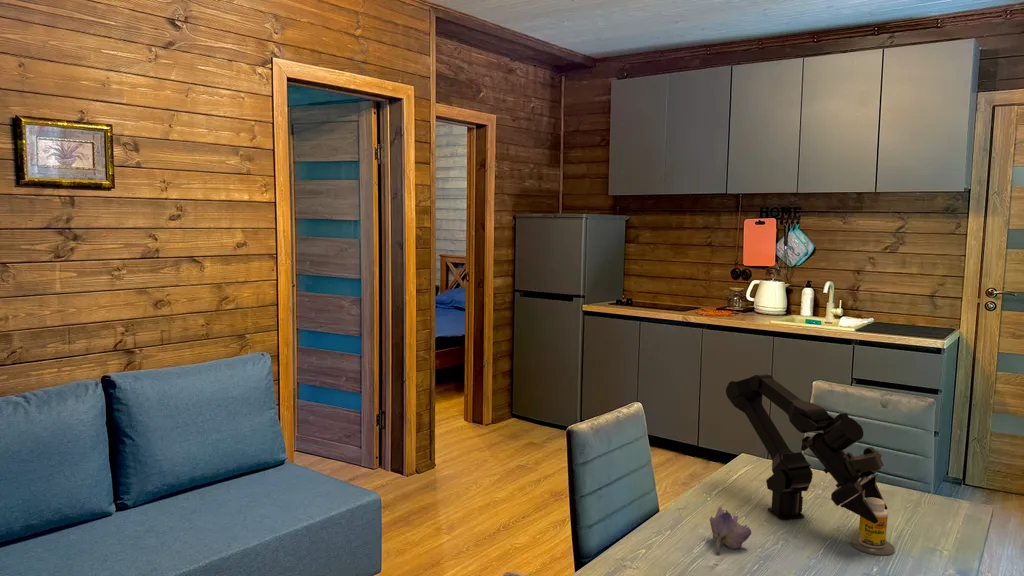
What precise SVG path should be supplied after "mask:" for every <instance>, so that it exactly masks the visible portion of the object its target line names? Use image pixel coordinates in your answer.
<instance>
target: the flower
mask: <svg viewBox="0 0 1024 576" xmlns="http://www.w3.org/2000/svg"><path fill="white" fill-rule="evenodd" d="M738 519H739V516H738V515H734V516H732V515H731V513H730V512H729V510H728V509H725V510H724V509H723V507H722V506H719V507H718V509H717V512H716V513H715V515H714V517H713V516H710V517H709V522H710V524H709V525H710V527H711V532H712V533H711V534H712V538H713V540H714V541H715V546H714V547H715V551H716V555H717V554H719V555H718V556H721V555H720V553H721V548H722V547H723V546H722V545H725V546H727V547H728V548H730V549H731V548H732V549H733V550H738V549H741V548H742V547H743V544H744V543H745V542H746V541H748V539H749V537H750V536H751V535H752V530H751V529H750V527H749V526H748V525H747V524H745V525H742V524H740V523H738ZM737 548H738V549H737ZM732 549H731V550H732Z"/></svg>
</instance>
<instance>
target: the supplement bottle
mask: <svg viewBox="0 0 1024 576" xmlns="http://www.w3.org/2000/svg"><path fill="white" fill-rule="evenodd" d="M865 500H866V502H867V503H868V505H869V506H870V508H871V509H872V511H873V512H874V514H875V516H876V517H877V519H878V522H877V523H876V524H874V523H872V522H870V521H868V520H867V519H865V518H863V517H861V516H859V525H858V535H857V536H858V540H859V542H860V543H861V544H862V545H864V546H867V547H870V548H883V547H884V546H885V542H886V541H887V540H886V538H887V531H888V530H887V527H888V517H889V513H888V510H885V504H886V502H885V500H884V499H883V500H884V501H883V500H881V499H878V498H873V497H868V498H865Z"/></svg>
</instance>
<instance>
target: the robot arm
mask: <svg viewBox="0 0 1024 576" xmlns="http://www.w3.org/2000/svg"><path fill="white" fill-rule="evenodd" d="M725 394H726V397H727V399H728V400H729V402H730V403H731V404H732V405H733V407H734V408H736V409H738V410H739V411H740V412H742V413H744V414H745V416H746V417H747V419H748V421H749V422H750V424H751V426H752V428H753V429H754V431H755V433H756V434H757V436H758V437H759V439H760V441H761V443H762V444H763V446H764V448H765V450H766V451H767V453H768V455H769V456H770V458H771V472H772V475H771V476H770V477H768V478H767V479H766V480H765V481H766V482H765V483H766V488H767V489H768V490H770V491H771V493H772V494H771V506H770V507H767V511H769V512H770V513H772V514H773V515H775V517H777V518H778V519H780V520H795V519H804V518H805V517H806V515H805V514H803V513H802V512H803V503H804V497H803V492H808V490H809V488H810V485H811V483H812V482H813V474H814V473H813V471H812V468H811V467H812V465H811V464H810V463H809V461H808V460H807V458H806V457H805V455H804V453H803V452H805V451H807V449H809V450H810V451H811V452H812V454H813V455H814V456H815V457H816V459H817V460H818V462H820V463H821V464H822V466H823V467H824V469H823V472H824V473H825V474H828V473H829V475H830V476H831V477H832V478H833V479H834V481H835V483H836V484H835V487H836V488H835V489H834V490H833V491H832V492H831V497H830V500H831V501H832V502H833V504H834V505H835V506H836V507H838V506H840V508H844V509H846V510H847V511H850V512H852V513H854V514H856V515H858V516H859V517H860V516H861V517H863V518H865V519H867V520H868V521H870V522H872V523H874V524H876V523H877V522H878V519H877V517H876V516H875V514H874V512H873V511H872V509H871V508H870V506H869V505H868V503H867V502H866V500H865V499H866V498H868V497H873V498H878V499H881V500H883V501H884V502H885V500H884V497H883V496H882V493H881V491H880V489H879V487H878V485H877V482H878V481H877V480H878V477H879V475H878V473H877V472H878V471H880V470H882V467H884V465H885V464H884V463H883V461H882V454H881V453H880V452H879V451H878V450H876V449H875V448H873V447H872V446H870V447H869V446H868V447H865V448H864V450H863V454H859V455H855V456H854V455H853V454H852V452H849V451H847V452H845V450H847V449H848V448H849V447H852V446H853V445H854V444H856V443H857V442H859V441H861V440H862V439H863V438H864V429H863V427H862V425H861V424H860V423H858V422H857V420H855V419H854V418H851V417H850V416H849V415H848V413H847V412H843V413H838V414H837V415H836V416H835V417H833V416H832V415H830V414H829V413H828V411H827V410H826V409H825V408H824V407H821V406H819V405H818V404H816V403H813V402H809V401H806V400H803V399H801V398H800V397H798V396H797V395H796V394H794V393H793V392H792V391H790V390H789V389H787V387H785V386H783V385H782V384H781V383H780V382H778V381H777V380H775V379H774V377H773V375H771V374H768V373H765V374H764V373H763V374H754V375H752V376H751V377H748V378H744V379H741V380H731V381H729V382H728V383H727V386H726V388H725ZM763 396H764V397H765V398H766V399H768V400H769V401H770V402H772V403H773V404H774V405H776V407H778V408H779V409H780V410H782V412H784V413H785V414H786V415H787V417H788V421H789V422H790V424H791V425H792V426H793V428H794V429H796V430H797V431H798V433H801V434H810V433H814V434H813V435H812V436H808V435H806V436H805V437H803V438H801V447H800V449H801V451H802V452H801V451H798V452H794V451H793V450H791V449H790V447H789V445H787V443H786V441H785V439H784V438H783V436H782V435H781V433H780V432H779V430H778V428H777V427H776V425H775V423H774V422H773V420H772V418H771V417H770V415H769V414H768V411H767V410H766V409H765V408H764V406H763V398H764V397H763ZM885 510H886V511H888V506H887V504H886V503H885Z"/></svg>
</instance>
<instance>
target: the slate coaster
mask: <svg viewBox="0 0 1024 576" xmlns="http://www.w3.org/2000/svg"><path fill="white" fill-rule="evenodd" d="M849 542H850V543H849V544H850V545H851V546H852V547H853V548H854V549H856V550H858V551H859V552H862V553H865V554H867V555H872V556H877V557H882V556H884V557H887V556H891V555H893V554H895V552H896V551H895V550H896V548H895V546H894V545H893V544H892V543H891V542H888V541H887V540H886V542H885V546H884V547H883V548H870V547H867V546H864V545H862V544H861V543H860V542H859V540H858V535H856V536H853V537H851V538H850V541H849Z"/></svg>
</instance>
